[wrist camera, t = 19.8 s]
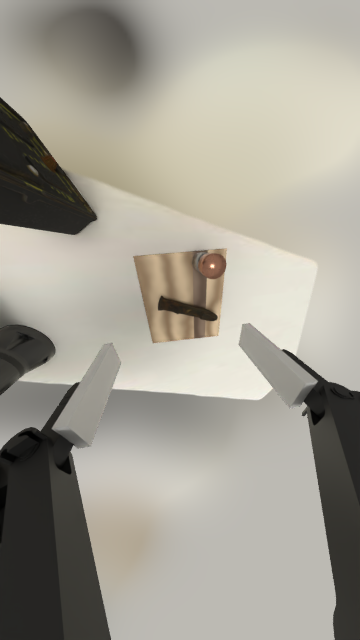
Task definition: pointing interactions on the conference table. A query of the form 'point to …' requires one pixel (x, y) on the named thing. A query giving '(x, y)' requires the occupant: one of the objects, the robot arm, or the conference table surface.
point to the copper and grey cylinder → (209, 264)
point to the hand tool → (186, 309)
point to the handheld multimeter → (35, 182)
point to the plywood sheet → (178, 295)
